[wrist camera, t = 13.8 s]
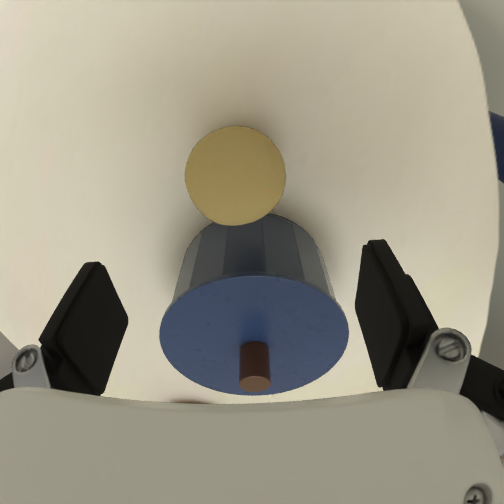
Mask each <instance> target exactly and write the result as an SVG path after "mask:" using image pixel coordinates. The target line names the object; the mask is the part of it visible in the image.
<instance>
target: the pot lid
mask: <svg viewBox="0 0 504 504" xmlns="http://www.w3.org/2000/svg"><path fill="white" fill-rule="evenodd" d="M348 337H349V329H348V323H347V319H346V317H345V314H344V312H343V310H342V308H341V306H340V305H339V304H338V303H337V301H336V300H335V299H334V298H333V297H332V296H331V295H329V294H328V293H327V292H326V291H325V290H323V289H321V288H320V287H318V286H316V285H315V284H312V283H310V282H308V281H305V280H303V279H300V278H297V277H293V276H290V275H285V274H279V273H273V272H259V271H258V272H239V273H232V274H226V275H222V276H218V277H214V278H211V279H208V280H205V281H203V282H200V283H198V284H196V285H194V286H192V287H191V288H189V289H187V290H186V291H185V292H183V293H182V294H180V295H179V296H178V297H177V298H176V299H175V300H174V301H173V302H172V303H171V304H170V306H169V307H168V308H167V310H166V312H165V314H164V316H163V318H162V322H161V326H160V335H159V338H160V343H161V347H162V350H163V352H164V354H165V356H166V358H167V359H168V361H169V362H170V363H171V364H172V366H173V367H174V368H175V369H177V370H178V371H179V372H180V373H181V374H183V375H184V376H185V377H187V378H188V379H190V380H192V381H193V382H195V383H197V384H200V385H202V386H204V387H207V388H210V389H212V390H216V391H220V392H224V393H229V394H236V395H251V396H253V395H269V394H276V393H282V392H286V391H290V390H293V389H296V388H299V387H302V386H304V385H306V384H309V383H311V382H313V381H314V380H316V379H318V378H319V377H321V376H322V375H324V374H325V373H326V372H328V371H329V370H330V369H331V368H332V367H333V366H334V365H335V364H336V363H337V362H338V361H339V359H340V358H341V356H342V355H343V353H344V351H345V349H346V346H347V342H348Z"/></svg>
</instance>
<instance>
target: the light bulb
mask: <svg viewBox="0 0 504 504" xmlns="http://www.w3.org/2000/svg"><path fill="white" fill-rule="evenodd" d="M285 180H286V172H285V165H284V161H283V159H282V156H281V154H280V152H279V150H278V148H277V147H276V146H275V144H274V143H273V142H272V141H271V140H270V139H269V138H268V137H266V136H265V135H264V134H262V133H260V132H259V131H257V130H254V129H252V128H247V127H242V126H230V127H225V128H221V129H218V130H215V131H213V132H211V133H209V134H208V135H207V136H205V137H204V138H203V139H202V140H200V141H199V142H198V143H197V145H196V146H195V147H194V148H193V150H192V152H191V154H190V155H189V158H188V161H187V163H186V170H185V182H186V187H187V190H188V193H189V195H190V198H191V199H192V201H193V203H194V204H195V206H196V207H197V208H198V209H199V210H200V211H201V212H202V213H203V215H205V216H206V217H207V218H209V219H210V220H212V221H214V222H216V223H218V224H221V225H228V226H237V225H243V224H247V223H251V222H254V221H256V220H258V219H260V218H262V217H263V216H265V215H266V214H268V213H269V212H270V211H271V210H272V209H273V208H274V207H275V206H276V205H277V204H278V202H279V200H280V198H281V196H282V194H283V191H284V187H285Z"/></svg>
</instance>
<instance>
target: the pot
mask: <svg viewBox="0 0 504 504" xmlns="http://www.w3.org/2000/svg"><path fill="white" fill-rule="evenodd" d="M258 271H259V272H273V273H279V274H285V275H290V276H293V277H297V278H300V279H303V280H305V281H308V282H310V283H312V284H315V285H316V286H318V287H320V288H321V289H323V290H325V291H326V292H327V293H328V294H329V295H331V296H332V297H333V298H334V299H335V296H334V293H333V289H332V286H331V283H330V280H329V276H328V273H327V270H326V267H325V264H324V261H323V258H322V256H321V254H320V252H319V250H318V247H317V245H316V244H315V242H314V240H313V238H311V237H310V235H309V234H308V233H307V232H306V231H305V230H304V229H302V228H301V227H300V226H298V225H297V224H295V223H294V222H292V221H290V220H288V219H286V218H283V217H280V216H277V215H273V214H266V215H265V216H263V217H262V218H260V219H258V220H256V221H254V222H251V223H247V224H243V225H237V226H228V225H221V224H218V223H216V222H213V223H212V224H210V225H208V226H207V227H206V228H205V229H203V230H202V231H201V232H200V233H199V234H198V235H197V236H196V237H195V238H194V240H193V241H192V243H191V244H190V246H189V247H188V249H187V251H186V253H185V257H184V260H183V264H182V267H181V271H180V275H179V278H178V282H177V285H176V289H175V293H174V297H173V300H172V302H173V301H174V300H175V299H176V298H177V297H178V296H179V295H180V294H182V293H183V292H185V291H186V290H187V289H189V288H191V287H192V286H194V285H196V284H198V283H200V282H203V281H205V280H208V279H211V278H214V277H218V276H222V275H226V274H232V273H239V272H258ZM335 300H336V299H335Z"/></svg>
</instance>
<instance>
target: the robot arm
mask: <svg viewBox="0 0 504 504" xmlns="http://www.w3.org/2000/svg"><path fill="white" fill-rule="evenodd" d="M355 311H356V314H357V317H358V321H359V324H360V327H361V330H362V334H363V337H364V340H365V344H366V347H367V350H368V354H369V357H370V361H371V364H372V368H373V371H374V375H375V379H376V382H377V385H378V387H383V391H380V392H371V393H365V394H358V395H350V396H342V397H333V398H323V399H313V400H303V401H290V402H275V403H253V404H189V403H167V402H152V401H140V400H129V399H119V398H111V397H103V396H100V395H101V394H103V393H104V391H105V388H106V385H107V382H108V379H109V376H110V373H111V370H112V367H113V364H114V361H115V358H116V356H117V353H118V350H119V347H120V344H121V342H122V339H123V336H124V334H125V331H126V328H127V326H128V316H127V314H126V312H125V309H124V307H123V305H122V303H121V301H120V299H119V297H118V295H117V292H116V290H115V288H114V286H113V283H112V281H111V279H110V277H109V274H108V272H107V270H106V268H105V266H104V265H102V264H101V263H100V262H87V263H85V264H84V265H83V266H82V268H81V269H80V271H79V272H78V274H77V275H76V277H75V278H74V280H73V282H72V283H71V285H70V286H69V288H68V290H67V291H66V293H65V294H64V296H63V298H62V299H61V301H60V303H59V304H58V306H57V308H56V309H55V311H54V313H53V314H52V316H51V318H50V320H49V321H48V323H47V325H46V327H45V329H44V330H43V332H42V334H41V336H40V338H39V341H40V343H41V344H42V346H41V348H39V347H38V346H37V345H27V346H25V347H23V348H22V349H20V350H19V351H18V352H17V353H16V355H15V356H14V359H13V361H12V367H11V368H12V372H11V373H10V374H8V375H7V376H5V377H4V378H2V379H1V380H0V504H504V370H502V369H500V368H498V367H496V366H493V365H491V364H489V363H487V362H485V361H483V360H481V359H479V358H477V357H475V356H473V355H471V345H470V342H469V340H468V339H467V337H466V336H465V335H464V334H462V333H461V332H459V331H458V330H456V329H452V328H441V329H439V328H438V326H437V324H436V322H435V320H434V318H433V316H432V314H431V312H430V310H429V309H428V307H427V305H426V303H425V301H424V299H423V297H422V295H421V294H420V292H419V290H418V288H417V286H416V285H415V283H414V281H413V279H412V278H411V276H410V275H408V274H405V273H404V271H403V269H402V267H401V266H400V264H399V262H398V260H397V259H396V257H395V255H394V254H393V252H392V250H391V249H390V247H389V245H388V244H387V242H386V241H385V240H384V239H381V240H369V241H368V243H367V245H363V248H362V256H361V264H360V272H359V279H358V286H357V293H356V299H355Z"/></svg>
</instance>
